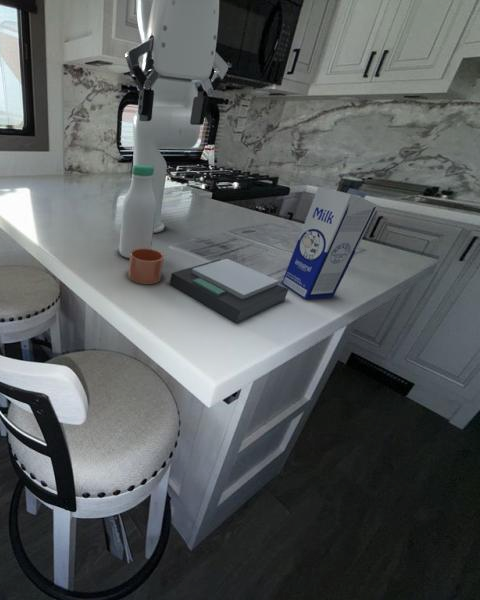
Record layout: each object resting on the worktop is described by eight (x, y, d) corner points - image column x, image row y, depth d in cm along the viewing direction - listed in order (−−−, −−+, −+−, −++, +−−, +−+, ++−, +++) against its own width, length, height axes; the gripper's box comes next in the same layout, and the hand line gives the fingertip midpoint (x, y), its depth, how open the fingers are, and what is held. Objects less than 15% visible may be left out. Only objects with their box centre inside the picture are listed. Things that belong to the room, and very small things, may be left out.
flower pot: (122, 273, 65) (123, 251, 62) (146, 267, 68) (149, 246, 66) (142, 287, 60) (144, 264, 58) (167, 279, 64) (171, 257, 61)
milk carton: (280, 283, 65) (318, 184, 55) (307, 281, 67) (348, 185, 56) (305, 299, 59) (352, 193, 49) (334, 297, 61) (385, 193, 50)
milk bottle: (148, 262, 71) (160, 169, 61) (116, 257, 72) (122, 166, 62) (151, 250, 78) (162, 165, 67) (122, 246, 79) (128, 162, 68)
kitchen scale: (169, 283, 62) (172, 268, 60) (217, 269, 70) (220, 254, 68) (236, 323, 51) (241, 305, 49) (284, 300, 59) (290, 284, 57)
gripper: (224, -1, 48) (202, 125, 56) (121, -25, 42) (114, 119, 50) (259, -18, 42) (229, 126, 50) (144, -49, 36) (132, 119, 44)
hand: (171, 122), depth 50 cm, fingers open, 9 cm apart
